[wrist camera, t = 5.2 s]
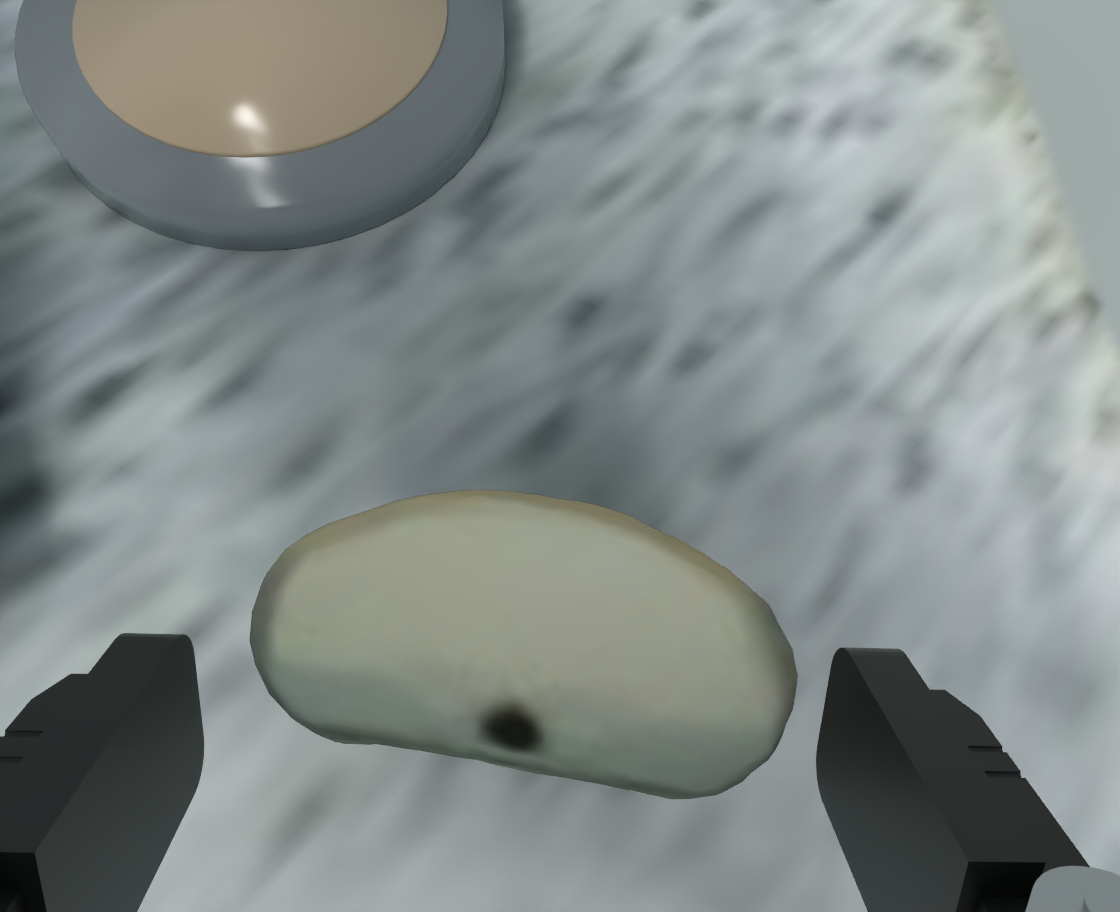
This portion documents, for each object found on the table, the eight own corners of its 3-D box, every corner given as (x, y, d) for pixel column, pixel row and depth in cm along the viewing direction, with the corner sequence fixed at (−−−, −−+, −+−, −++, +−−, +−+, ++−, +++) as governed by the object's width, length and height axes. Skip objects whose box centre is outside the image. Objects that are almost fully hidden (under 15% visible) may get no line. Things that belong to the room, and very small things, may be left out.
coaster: (29, 274, 20) (-11, 227, 19) (62, -76, 24) (31, -137, 23) (532, 225, 21) (532, 177, 20) (479, -103, 25) (476, -164, 24)
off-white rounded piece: (429, 922, 15) (341, 985, 8) (328, 638, 17) (180, 478, 10) (731, 774, 17) (894, 710, 9) (605, 521, 18) (657, 298, 11)
